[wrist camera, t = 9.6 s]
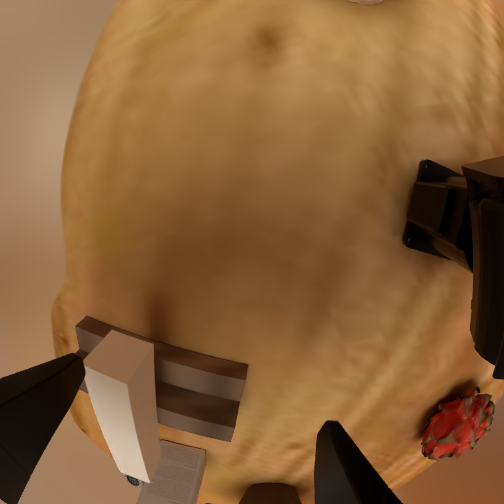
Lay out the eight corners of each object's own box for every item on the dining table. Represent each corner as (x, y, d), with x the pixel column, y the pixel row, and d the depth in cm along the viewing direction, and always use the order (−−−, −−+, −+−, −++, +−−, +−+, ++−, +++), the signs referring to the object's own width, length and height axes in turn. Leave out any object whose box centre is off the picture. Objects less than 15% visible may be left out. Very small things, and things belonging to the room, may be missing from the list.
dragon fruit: (477, 361, 22) (417, 417, 27) (464, 385, 17) (389, 445, 22) (511, 402, 16) (446, 454, 21) (504, 436, 11) (422, 488, 16)
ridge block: (248, 364, 22) (240, 407, 17) (234, 417, 24) (226, 455, 19) (86, 316, 22) (56, 342, 17) (96, 373, 25) (75, 400, 20)
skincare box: (165, 452, 28) (140, 518, 17) (161, 438, 27) (131, 509, 16) (207, 462, 28) (189, 532, 17) (206, 449, 27) (186, 526, 15)
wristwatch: (145, 458, 30) (135, 481, 25) (160, 474, 32) (152, 496, 27) (127, 453, 31) (116, 475, 26) (143, 471, 32) (135, 491, 27)
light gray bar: (153, 344, 16) (127, 384, 12) (161, 454, 21) (150, 483, 17) (111, 329, 16) (80, 363, 12) (133, 444, 21) (120, 471, 17)
